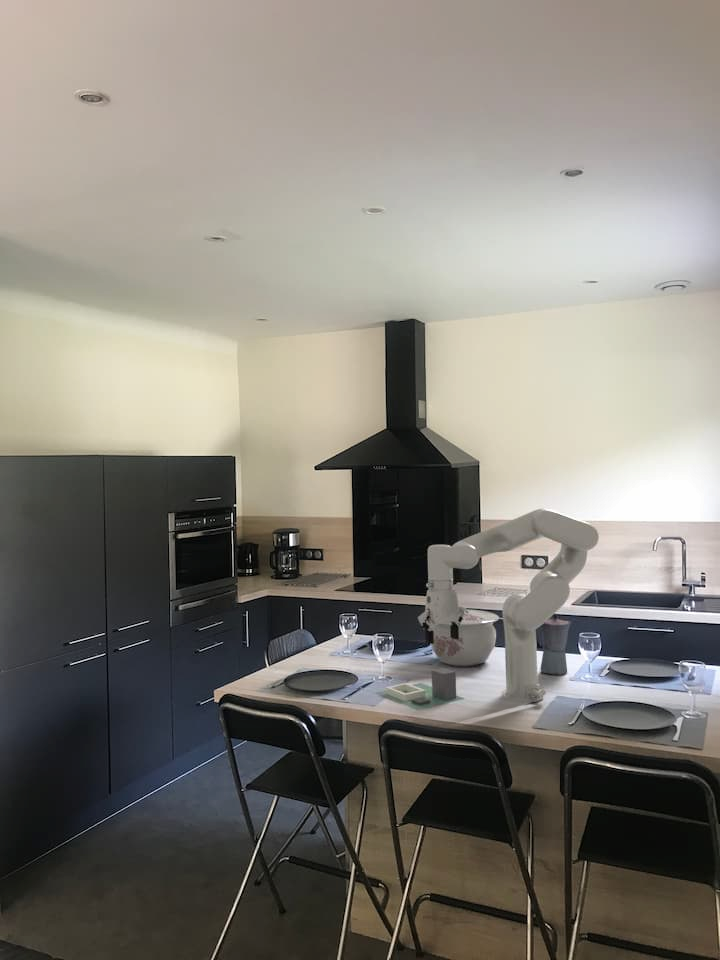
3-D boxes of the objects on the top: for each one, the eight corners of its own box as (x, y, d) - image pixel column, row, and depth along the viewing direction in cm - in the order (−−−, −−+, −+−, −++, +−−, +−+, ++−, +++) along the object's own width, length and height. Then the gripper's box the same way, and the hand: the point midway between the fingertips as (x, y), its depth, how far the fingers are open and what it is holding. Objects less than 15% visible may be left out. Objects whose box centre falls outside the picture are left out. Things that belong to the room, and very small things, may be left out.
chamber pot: (500, 672, 262) (498, 613, 262) (421, 670, 268) (419, 612, 267) (501, 653, 289) (499, 599, 289) (430, 652, 295) (428, 599, 295)
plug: (456, 697, 230) (455, 671, 230) (444, 700, 227) (444, 674, 227) (442, 692, 236) (441, 667, 236) (430, 695, 233) (430, 669, 233)
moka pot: (580, 672, 259) (578, 614, 258) (542, 678, 253) (541, 619, 253) (563, 666, 267) (561, 610, 267) (526, 672, 262) (524, 614, 262)
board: (465, 702, 229) (464, 691, 229) (417, 713, 219) (417, 703, 219) (420, 686, 248) (420, 676, 248) (375, 696, 238) (375, 686, 238)
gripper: (425, 589, 223) (427, 647, 224) (470, 583, 233) (472, 639, 233) (410, 586, 230) (412, 642, 230) (454, 581, 239) (456, 635, 239)
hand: (442, 640), depth 231 cm, fingers open, 9 cm apart
